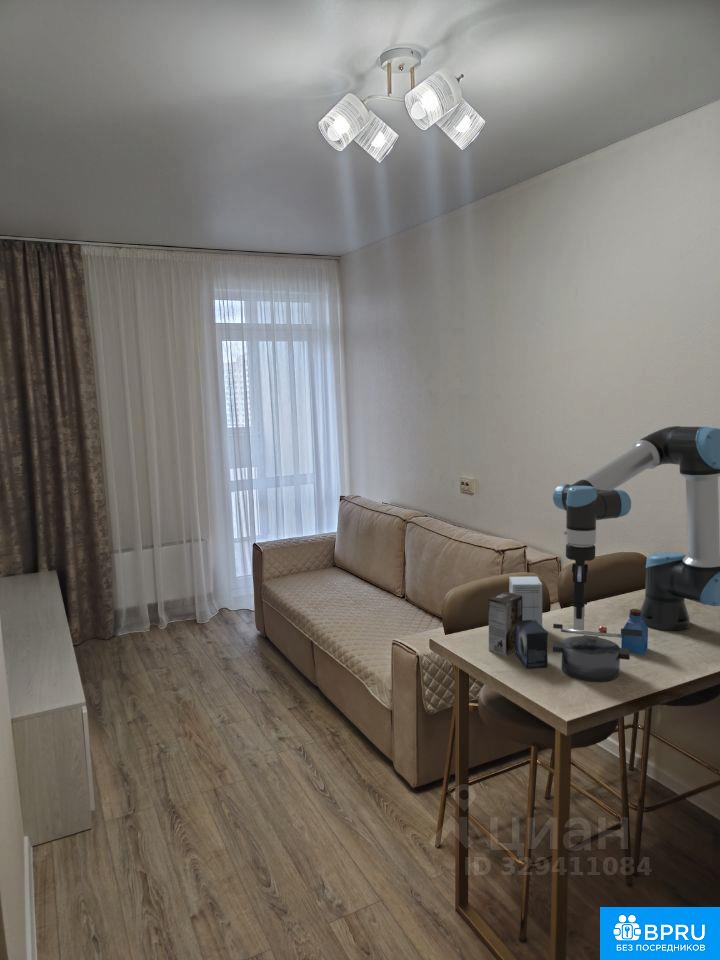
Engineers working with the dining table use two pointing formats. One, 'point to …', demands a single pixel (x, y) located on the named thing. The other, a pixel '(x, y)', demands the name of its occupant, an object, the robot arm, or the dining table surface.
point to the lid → (601, 631)
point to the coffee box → (503, 622)
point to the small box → (531, 644)
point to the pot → (590, 658)
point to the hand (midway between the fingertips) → (578, 628)
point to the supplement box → (528, 596)
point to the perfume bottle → (635, 642)
